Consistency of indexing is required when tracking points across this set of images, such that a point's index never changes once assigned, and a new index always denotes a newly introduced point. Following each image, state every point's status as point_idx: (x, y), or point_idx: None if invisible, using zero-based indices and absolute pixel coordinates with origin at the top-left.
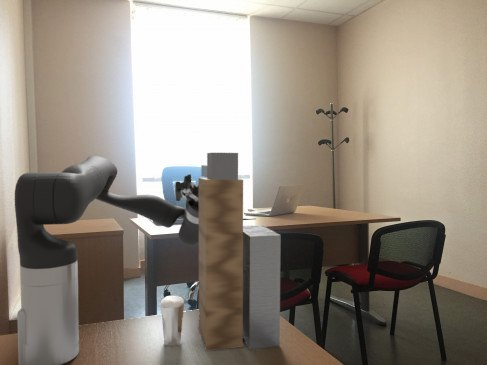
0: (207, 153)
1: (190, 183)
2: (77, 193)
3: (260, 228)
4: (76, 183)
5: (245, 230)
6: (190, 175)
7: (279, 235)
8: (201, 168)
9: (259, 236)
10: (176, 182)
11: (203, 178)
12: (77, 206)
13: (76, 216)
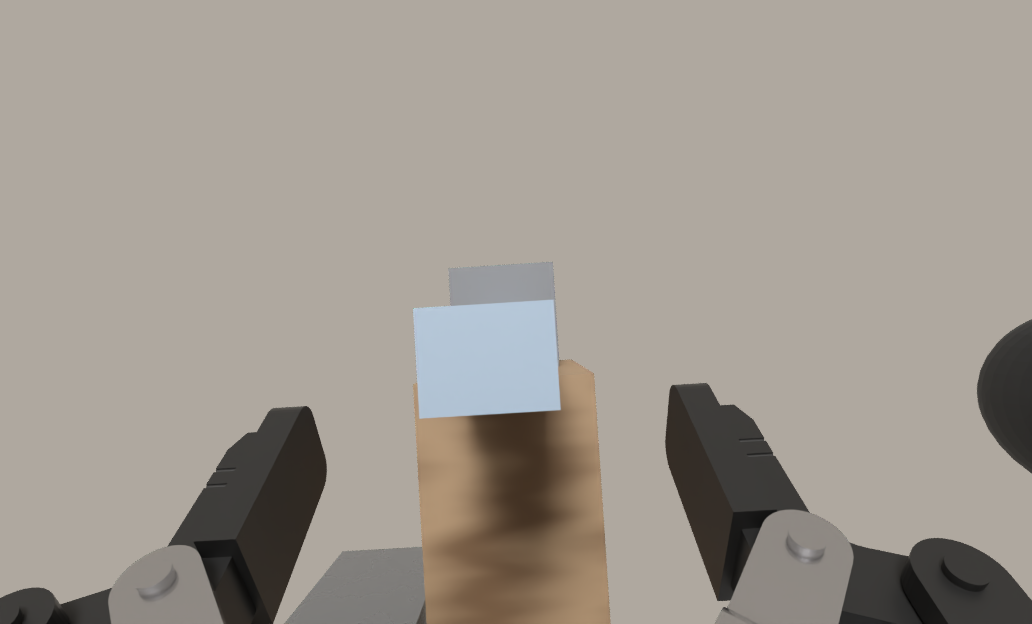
0: (552, 264)
1: (680, 485)
2: (982, 376)
3: (320, 620)
4: (998, 345)
5: (409, 598)
6: (673, 399)
7: (346, 552)
8: (555, 332)
9: (413, 548)
10: (962, 551)
11: (573, 367)
12: (984, 417)
13: (1010, 455)
